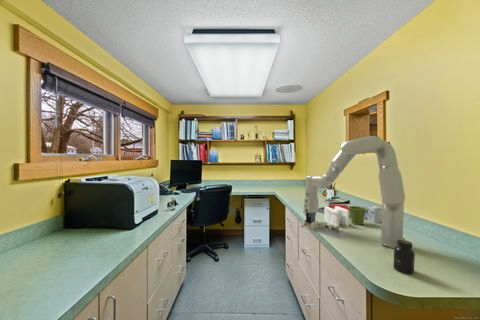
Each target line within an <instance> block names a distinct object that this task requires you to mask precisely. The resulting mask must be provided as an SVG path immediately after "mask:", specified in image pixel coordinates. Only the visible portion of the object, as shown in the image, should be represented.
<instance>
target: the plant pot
mask: <svg viewBox="0 0 480 320" xmlns="http://www.w3.org/2000/svg"><path fill="white" fill-rule="evenodd" d="M348 208H349V211H350V216H351V217H350V221H351V223H352V224H354V225H357V226H360V225H364V221H365V220H364V217H365V213H366V210H367V208H364V207H363V206H358V205H348Z"/></svg>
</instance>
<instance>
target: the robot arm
mask: <svg viewBox="0 0 480 320" xmlns="http://www.w3.org/2000/svg"><path fill="white" fill-rule="evenodd" d="M366 153H375V155H376V157H377V163H378V170H379V172H378V180H379V181H378V182H379V188H380V195H381V208H382V212H381V222H380V223H381V224H380V225H381V227H380V232H381V233H380V234H381V235H380V237H379V238H377V242H379V243H381V246H383V247H387V248H389V249H390V248H391V249H394V247H395V246H398V245H397V241H398V240H406V238H405V237H404V210H405V209H404V208H405V206H404V205H405V200H406V195H405V194H406V193H405V189H404V183H403V181H404V180H403V176H402V173H401V171H400V168H399V164H398V158H397V155H396V154H397V153H396V151H395V149H394V147H393V145H392V144H391V143H390V142H388V141H386V140H384V139H382V138H380V137H378V136H375V135H368V136H364V137H360V138H355V139H350V140H346V141H344V142H343V143H342V144H341V146H340V149H339V151H338V152H337V154H335V156H334V157H333V158H332V159H331V161H330V166H329V168H328V169H327V170H326V171H325V173H324V174H323V175H321V176H316V175H306V176H305V185H304V186H305V190H304V191H305V194H304V195H305V196H304V201H303V202H304V203H303V211H302V212H303V214H304V215H305V219H306V222H308V223H311V217H310V213H312V212H314V213H315V217H316V216H317V213H318V212H317V211H318V210H319V208H320V206H319V205H320V204H319V196H318V189H319V188H320V189H326V188H328V187H330V186H332V184H333V183H334V182H335V180H337V179H338V177H339V176H340V174H341V173H342V172H343V171H344V169H345V168H346V167H347V166H348V165H349V163H351V161H352V160H353V159H354V157H356V155H360V154H366ZM308 213H309V214H308ZM412 248H413V243H412Z"/></svg>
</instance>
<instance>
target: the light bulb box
mask: <svg viewBox="0 0 480 320" xmlns="http://www.w3.org/2000/svg"><path fill="white" fill-rule="evenodd" d="M362 207H364V208H367V210H366V213H365V217H364V221H368V222H370V223H373V224H377V223H381V219H382V207H380V206H375V205H371V204H363V205H362Z"/></svg>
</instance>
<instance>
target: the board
mask: <svg viewBox="0 0 480 320" xmlns="http://www.w3.org/2000/svg"><path fill="white" fill-rule="evenodd" d="M300 227H301V228H304V227H305V228H307V229H311V230H313V231H316V232H319V233H322V234H324V235H328V236H331V237H333V238H336V239H338V240H341V239H343V238H346V237H349V236H352V235H353V233H351V232H347V231H344V230H341V229H340V226H339V227H338V226H334V225H333V224H328V222H326V221H319V220H317V221H316V220H315V222H312V224H308V223H306V218H305V219H302V225H300Z"/></svg>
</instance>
